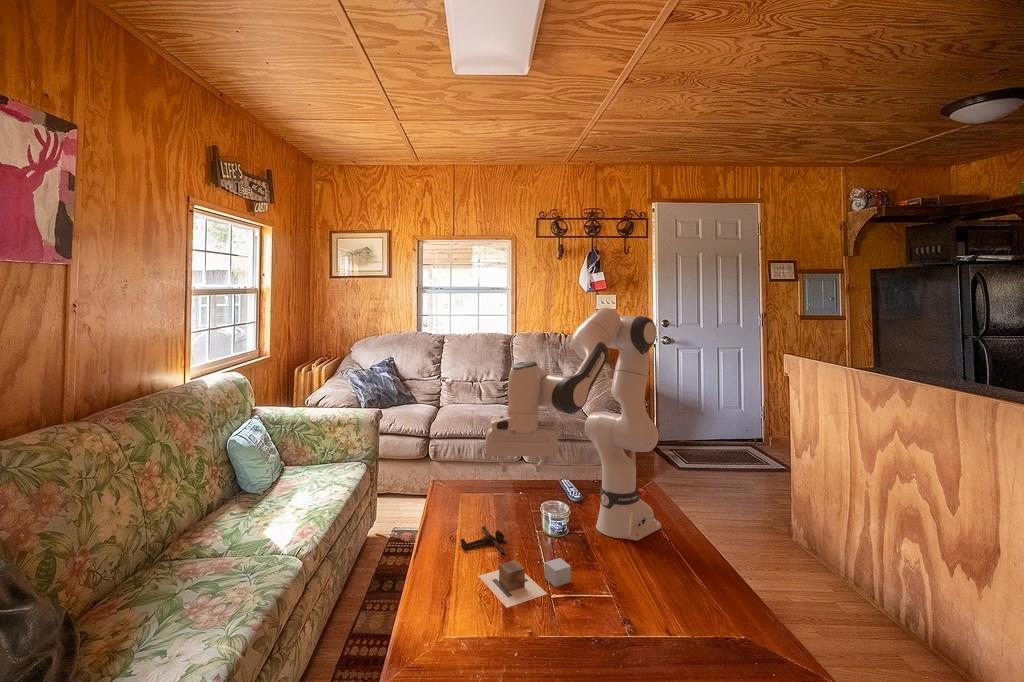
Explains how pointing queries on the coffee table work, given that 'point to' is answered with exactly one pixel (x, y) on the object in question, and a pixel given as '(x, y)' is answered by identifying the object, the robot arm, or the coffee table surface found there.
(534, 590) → the letter card
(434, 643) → the coffee table surface
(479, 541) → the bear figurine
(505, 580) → the walnut block
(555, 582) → the grey cube
